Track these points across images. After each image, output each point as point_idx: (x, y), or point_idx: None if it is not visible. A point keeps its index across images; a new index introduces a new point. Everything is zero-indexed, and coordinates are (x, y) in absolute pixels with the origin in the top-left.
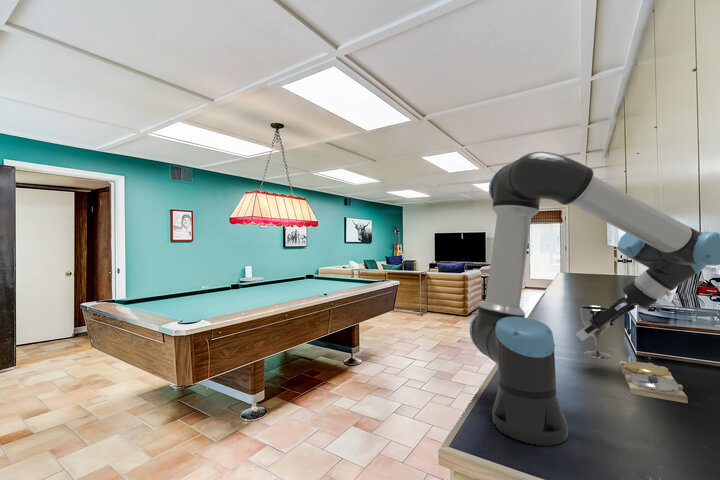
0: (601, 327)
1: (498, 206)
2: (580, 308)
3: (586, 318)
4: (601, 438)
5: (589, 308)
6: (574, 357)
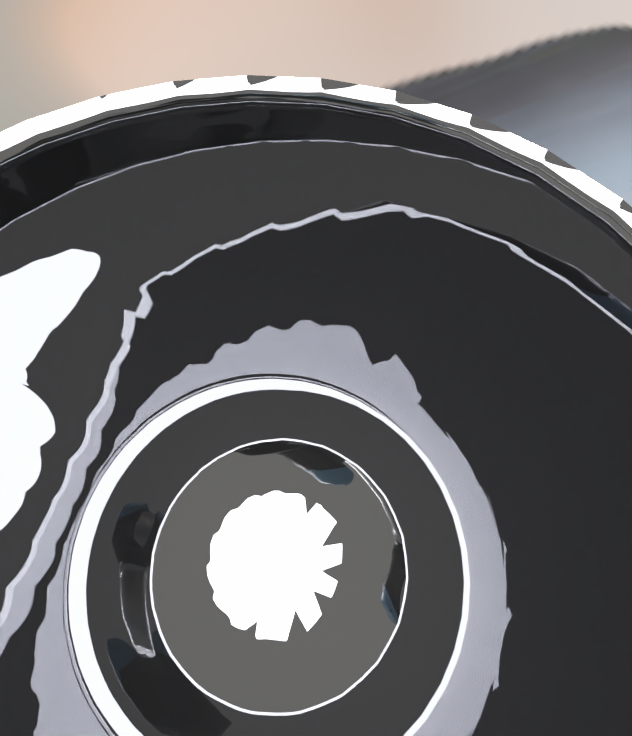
0: (117, 718)
1: None
2: (45, 158)
3: (2, 438)
4: None
5: (549, 257)
6: None
